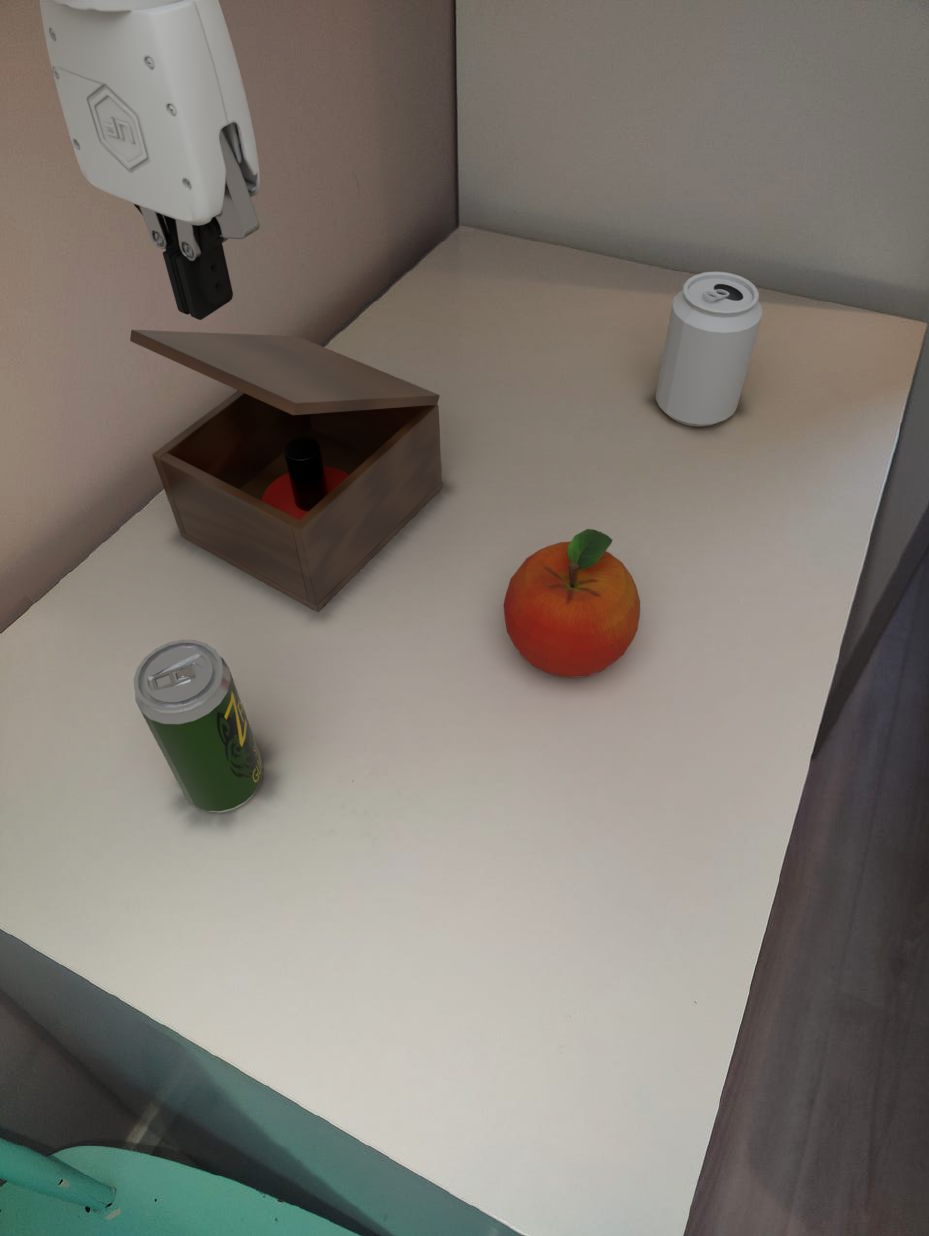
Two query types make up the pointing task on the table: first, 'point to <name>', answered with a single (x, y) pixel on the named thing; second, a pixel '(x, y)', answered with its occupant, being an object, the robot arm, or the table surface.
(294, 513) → the pot lid
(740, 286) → the can
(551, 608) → the fruit
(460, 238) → the table surface
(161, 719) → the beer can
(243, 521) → the chest
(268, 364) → the chest lid
